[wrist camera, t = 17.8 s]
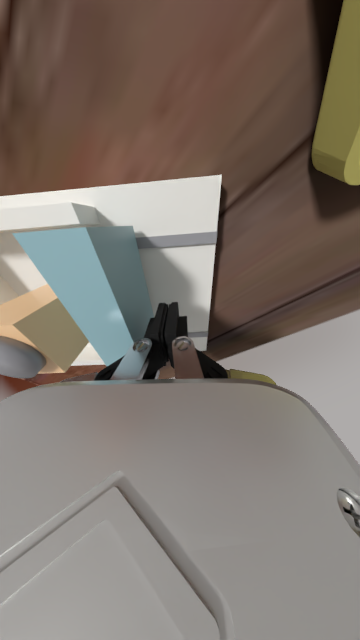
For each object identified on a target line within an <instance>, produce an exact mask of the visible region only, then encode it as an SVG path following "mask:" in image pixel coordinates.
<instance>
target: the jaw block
mask: <svg viewBox="0 0 360 640" xmlns="http://www.w3.org/2000/svg"><path fill="white" fill-rule="evenodd" d="M88 343H89V341H88V339H87V338H86V336H85V335H84V334H83V332H82V331H81V329H80V328H79V327H78V325H77V324H76V322H75V321H74V320H73V318H72V317H71V315H70V314H69V313H68V311H67V310H66V308H65V307H64V306H63V304H62V303H61V301H60V300H59V299H58V297H57V296H56V294H55V293H54V292H53V290H52V289H51V287H50V286H49V285H48V284H46V285H44V286H41V287H39V288H37V289H35V290H33V291H30V292H28V293H26V294H24V295H21V296H19V297H17V298H15V299H12V300H10V301H8V302H6V303H3V304H1V305H0V374H2V375H6V376H10V377H15V378H31V377H34V376H35V375H36V374H37V373H63V372H66V371H67V370H68V368H69V367H70V366H71V364H72V363H73V362H74V361H75V359H76V358H77V357H78V355H79V354H80V353H81V352H82V350H83V349H84V348H85V346H86V345H87V344H88Z"/></svg>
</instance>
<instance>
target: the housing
mask: <svg viewBox="0 0 360 640" xmlns="http://www.w3.org/2000/svg"><path fill="white" fill-rule="evenodd" d="M221 180H222V175H216V176H205V177H195V178H185V179H175V180H164V181H154V182H144V183H134V184H123V185H113V186H103V187H92V188H82V189H72V190H62V191H51V192H41V193H31V194H21V195H10V196H0V305H1V304H3V303H6V302H8V301H10V300H12V299H15V298H17V297H19V296H21V295H24V294H26V293H28V292H30V291H33V290H35V289H37V288H39V287H41V286H44V285H46V284H48V283H47V282H46V280H45V279H44V278H43V276H42V275H41V273H40V272H39V271H38V269H37V268H36V266H35V265H34V263H33V262H32V261H31V259H30V258H29V256H28V255H27V254H26V252H25V251H24V249H23V248H22V247H21V245H20V244H19V242H18V241H17V240H16V238H15V237H14V235H13V234H12V233H22V232H34V231H46V230H58V229H70V228H82V227H108V226H133V229H134V233H135V237H136V242H137V246H138V250H139V255H140V259H141V263H142V268H143V272H144V276H145V280H146V285H147V289H148V293H149V298H150V302H151V306H152V311H153V315H154V318H155V315H156V311H157V308H158V305H159V303H166V304H168V307H169V304H171V303H172V302H178V308H179V316H187V327H188V337H189V338H191V339H192V341H193V343H194V346H195V348H196V349H197V350H199V351H206V347H207V337H208V324H209V313H210V302H211V291H212V280H213V269H214V258H215V246H216V241H217V224H218V213H219V202H220V191H221ZM102 364H105V363H104V362H103V360H102V359H101V357H100V356H99V355H98V353H97V352H96V350H95V349H94V348H93V346H92V345H91V343H90V342H89V343H88V344H87V345H86V346H85V348H84V349H83V350H82V352H81V353H80V354H79V355H78V357H77V358H76V359H75V361H74V362H73V363H72V364H71V366H73V365H102Z"/></svg>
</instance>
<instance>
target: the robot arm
mask: <svg viewBox="0 0 360 640" xmlns="http://www.w3.org/2000/svg"><path fill="white" fill-rule="evenodd" d="M169 360H170V363H171V366H172V367H173V368H174V369H175V378H176V379H158V376H159V373H160V368H161V367H163V366H166V362H167V361H169ZM0 640H360V465H359V464H358V462H357V461H356V460H355V458H354V457H353V455H352V454H351V453H350V452H349V450H348V449H347V447H346V446H345V445H344V443H343V442H342V441H341V440H340V438H339V437H338V436H337V434H336V433H335V432H334V431H333V429H332V428H331V427H330V426H329V424H328V423H327V422H326V421H325V420H324V419H323V417H322V416H321V415H320V414H319V413H318V412H317V411H316V409H315V408H314V407H312V405H310V404H309V403H308V402H307V401H306V400H305V399H303V398H302V397H301V396H299V395H297V394H296V393H294V392H292V391H290V390H288V389H285V388H283V387H280V386H277V385H276V383H275V382H274V381H273V380H272V379H270V378H269V377H268V376H265V375H261V374H256V373H251V372H245V371H239V370H234V369H230V370H225V369H224V368H223V367H222V366H221V365H219V364H218V363H216V362H215V361H213V360H212V359H210V358H209V357H208V356H206V355H205V354H203V353H202V352H200V351H199V350H197V349H196V348H195V346H194V343H193V341H192V339H191V338H189V337H188V327H187V316H179V308H178V302H172V303H171V304H169V307H168V304H166V303H159V305H158V308H157V311H156V315H155V318H150V320H149V323H148V326H147V329H146V332H145V335H144V338H140V339H138V340H136V341H134V342H133V343H132V345H131V346H130V348H129V349H128V351H127V353H126V354H125V355H124V356H123V357H121V358H120V359H118V360H117V361H115V362H114V363H112V364H110V365H109V366H107V367H106V368H104V369H103V370H101V371H100V372H99V373H97V372H94V373H90V374H86V375H81V376H77V377H73V378H69V379H65V380H63V381H61V382H60V383H52V384H46V385H41V386H37V387H33V388H30V389H27V390H24V391H21V392H19V393H16V394H14V395H12V396H10V397H8V398H6V399H4V400H2V401H1V402H0Z"/></svg>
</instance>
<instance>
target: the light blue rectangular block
mask: <svg viewBox="0 0 360 640" xmlns="http://www.w3.org/2000/svg"><path fill="white" fill-rule="evenodd" d="M12 234H13V235H14V237H15V238H16V240H17V241H18V242H19V244H20V245H21V247H22V248H23V249H24V251H25V252H26V254H27V255H28V256H29V258H30V259H31V261H32V262H33V263H34V265H35V266H36V268H37V269H38V271H39V272H40V273H41V275H42V276H43V278H44V279H45V280H46V282H47V283H48V285H49V286H50V287H51V289H52V290H53V292H54V293H55V294H56V296H57V297H58V299H59V300H60V301H61V303H62V304H63V306H64V307H65V308H66V310H67V311H68V313H69V314H70V315H71V317H72V318H73V320H74V321H75V322H76V324H77V325H78V327H79V328H80V329H81V331H82V332H83V334H84V335H85V336H86V338H87V339H88V341H89V342H90V343H91V345H92V346H93V348H94V349H95V350H96V352H97V353H98V355H99V356H100V357H101V359H102V360H103V362H104V363H105V364H106V366H109V365H110V364H112V363H114V362H115V361H117V360H118V359H120V358H121V357H123V356H124V355H125V354H126V353H127V351H128V349H129V348H130V346H131V345H132V343H133V342H134V341H136V340H138V339H140V338H144V335H145V332H146V329H147V326H148V323H149V320H150V318H154V315H153V311H152V306H151V302H150V298H149V293H148V289H147V285H146V280H145V276H144V272H143V268H142V263H141V259H140V255H139V250H138V246H137V242H136V237H135V233H134V229H133V226H108V227H82V228H70V229H58V230H46V231H34V232H22V233H12Z"/></svg>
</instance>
